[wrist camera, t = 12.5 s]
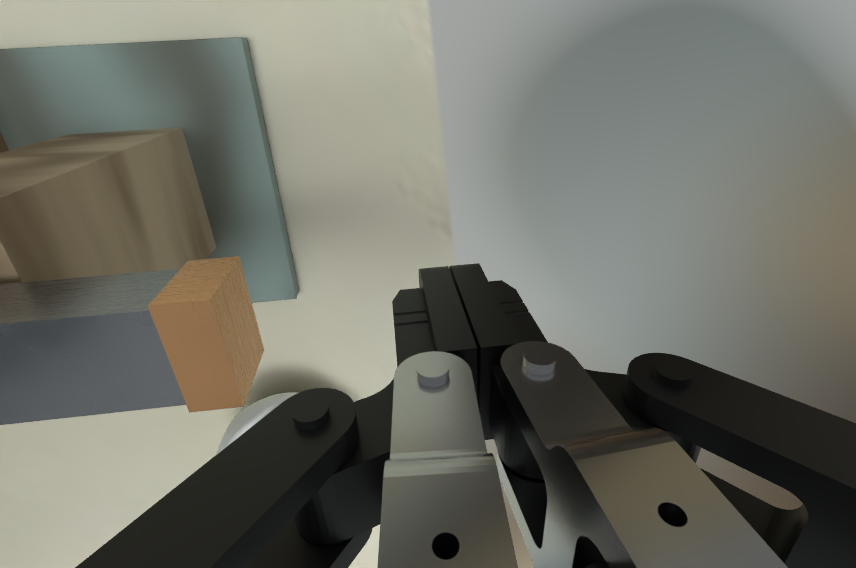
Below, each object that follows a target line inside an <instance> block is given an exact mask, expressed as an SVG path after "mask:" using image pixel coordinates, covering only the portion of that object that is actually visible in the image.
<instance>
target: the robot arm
mask: <svg viewBox="0 0 856 568" xmlns="http://www.w3.org/2000/svg"><path fill="white" fill-rule="evenodd" d="M419 285H420V288H416V289H405V290H400V291H399V292H398V294H397V295H396V297H395V298H394V300H393V301H392V303H393V315H394V328H395V340H396V353H397V369H396V371H395V375H394V379H393V380H392V381H391V383H390V384H389V385H388V386H387V387H385V388H384V389H383V390H381V391H380V392H378V393H376V394H374V395H372V396H369V397H367V398H364V399H361V400H359V401H356V402H353V401H352V399H351V398H350V397H349V396H348V395H347V394H345V393H343V392H341V391H339V390H336V389H330V388H316V389H310V390H306V391H303V392H300V393H298V394H295V395H293V396H291V397H290V398H288V399H286V400H285V401H284V402H282V403H281V404H280V405H278V406H277V407H276V408H275V409H273V410H272V411H271V412H270V413H268V414H267V415H266V416H265V417H263V418H262V419H261V420H260V421H258V422H257V423H256V424H255V425H253V426H252V427H251V428H250V429H248V430H247V431H246V432H245V433H243V434H242V435H241V436H240V437H238V438H237V439H236V440H235V441H233V442H232V443H231V444H230V445H228V446H227V447H226V448H225V449H223V450H222V451H221V452H220V453H218V454H217V455H216V456H215V457H213V458H212V459H211V460H209V461H208V462H207V463H206V464H204V465H203V466H202V467H201V468H199V469H198V470H197V471H196V472H194V473H193V474H192V475H191V476H189V477H188V478H187V479H186V480H184V481H183V482H182V483H181V484H179V485H178V486H177V487H176V488H174V489H173V490H172V491H171V492H169V493H168V494H167V495H166V496H164V497H163V498H162V499H161V500H159V501H158V502H157V503H156V504H154V505H153V506H152V507H151V508H149V509H148V510H147V511H146V512H144V513H143V514H142V515H141V516H139V517H138V518H137V519H136V520H134V521H133V522H132V523H131V524H129V525H128V526H127V527H126V528H124V529H123V530H122V531H121V532H119V533H118V534H117V535H116V536H114V537H113V538H112V539H111V540H109V541H108V542H107V543H106V544H104V545H103V546H102V547H101V548H99V549H98V550H97V551H96V552H94V553H93V554H92V555H91V556H89V557H88V558H87V559H86V560H84V561H83V562H82V563H81V564H79V565H78V566H77V567H76V568H348V567H349V565H350V564H351V563H352V561H353V560H354V559H355V557H356V556H357V555H358V553H359V552H360V551H361V549H362V548H363V547H364V545H365V544H366V542H367V541H368V539H369V537H370V535H371V532H372V528H373V527H375V526H377V525H379V524H380V538H379V554H378V568H518V566H517V560H516V556H515V551H514V546H513V541H512V537H511V532H510V527H509V522H508V518H507V513H506V508H505V503H504V498H503V493H502V489H501V484H500V480H501V482H502V485H503V488H504V490H505V492H506V495H507V497H508V500H509V503H510V505H511V508H512V511H513V513H514V516H515V518H516V521H517V523H518V526H519V528H520V531H521V533H522V536H523V539H524V541H525V543H526V546H527V549H528V551H529V554H530V557H531V559H532V562H533V565H534V568H856V423H853V422H851V421H848V420H846V419H843V418H840V417H838V416H835V415H832V414H830V413H827V412H825V411H822V410H819V409H817V408H814V407H811V406H809V405H806V404H804V403H801V402H799V401H796V400H793V399H791V398H788V397H785V396H783V395H780V394H778V393H775V392H772V391H770V390H767V389H765V388H762V387H759V386H756V385H754V384H751V383H748V382H746V381H744V380H741V379H738V378H736V377H733V376H730V375H728V374H725V373H723V372H720V371H717V370H715V369H712V368H709V367H707V366H704V365H702V364H699V363H697V362H694V361H691V360H689V359H686V358H683V357H680V356H676V355H672V354H666V353H648V354H643V355H640V356H638V357H636V358H634V359H633V360H632V361H631V362H630V364H629V366H628V371H627V375H625V374H616V373H606V372H598V371H591V370H587V369H584V368H583V367H582V366H581V364H580V363H579V362H578V361H577V359H575V357H574V356H573V355H572V354H571V353H570V352H569V351H567V350H565V349H564V348H562V347H560V346H557V345H555V344H551V343H548V342H547V340H546V339H545V337H544V335H543V334H542V332H541V330H540V329H539V327H538V326H537V324H536V322H535V321H534V319H533V317H532V316H531V314H530V313H529V312H528V309H527V307H526V306H525V304H524V303H523V301H522V299H521V297H520V296H519V294H518V293H517V291H516V289H514V288H513V287H511V286H509V285H508V284H506V283H505V282H503V281H502V280H501V281H490V282H488V280H487V278H486V276H485V274H484V272H483V270H482V268H481V266H480V265H479V264H467V265H456V266H450V267H448V266H446V267H435V268H424V269H419ZM489 439H494V440H495V444H496V446H497V465H496V461H495V458H494V456H493V454H492V453H489V454H488V453H487V450H486V444H485V440H489ZM701 448H703V449H706V450H707V451H709V452H711V453H714V454H716V455H718V456H720V457H722V458H724V459H726V460H728V461H730V462H732V463H734V464H736V465H738V466H740V467H742V468H744V469H746V470H748V471H750V472H752V473H754V474H756V475H758V476H760V477H762V478H764V479H766V480H768V481H770V482H772V483H774V484H777V485H779V486H780V487H783V488H784V489H786V490H788V491H790V492H791V493H793V494H794V495H795V496H796V497H797V498H799V500H800V501H801V502H802V503H803V505H802V506H801V507H799V508H797V509H794V510H785V509H780V508H777V507H774V506H772V505H770V504H768V503H766V502H764V501H762V500H760V499H758V498H756V497H755V496H753V495H751V494H749V493H747V492H745V491H743V490H741V489H739V488H737V487H735V486H733V485H732V484H729V483H728V482H726V481H724V480H722V479H720V478H718V477H716V476H714V475H712V474H710V473H709V472H707V471H704V470H703V469H701V468H699V467H698V466H697V465H696V461H697V458H698V455H699V452H700V449H701ZM499 477H500V479H499Z"/></svg>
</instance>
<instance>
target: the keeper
mask: <svg viewBox="0 0 856 568" xmlns="http://www.w3.org/2000/svg"><path fill="white" fill-rule="evenodd" d="M263 352H264V348H263V344H262V340H261V336H260V333H259V329H258V325H257V321H256V318H255V314H254V310H253V306H252V303H251V299H250V295H249V291H248V288H247V284H246V280H245V276H244V273H243V269H242V265H241V261H240V258H239V256H235V257H223V258H211V259H200V260H188V261H187V262H186V263H185V265H184V266H183V267H182V268H181V269H169V270H158V271H147V272H135V273H124V274H112V275H101V276H89V277H78V278H66V279H55V280H43V281H32V282H20V283H9V284H0V425H4V424H13V423H23V422H32V421H41V420H50V419H59V418H68V417H77V416H87V415H96V414H105V413H114V412H123V411H132V410H141V409H151V408H160V407H169V406H178V405H187V408H188V410H189V412H197V411H206V410H215V409H224V408H233V407H242V406H244V404H245V401H246V398H247V395H248V393H249V390H250V387H251V384H252V382H253V379H254V376H255V374H256V371H257V368H258V365H259V363H260V360H261V357H262V354H263Z"/></svg>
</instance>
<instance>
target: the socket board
mask: <svg viewBox="0 0 856 568" xmlns="http://www.w3.org/2000/svg"><path fill="white" fill-rule="evenodd" d="M235 256H239V258H240V261H241V265H242V269H243V273H244V276H245V280H246V284H247V288H248V291H249V295H250V299H251V303H255V302H265V301H276V300H287V299H296V298H297V295H298V292H299V288H298V283H297V278H296V273H295V269H294V264H293V259H292V254H291V249H290V244H289V240H288V235H287V230H286V225H285V220H284V215H283V211H282V206H281V201H280V196H279V191H278V186H277V181H276V177H275V172H274V167H273V162H272V157H271V152H270V148H269V143H268V138H267V133H266V128H265V123H264V119H263V114H262V109H261V104H260V99H259V94H258V89H257V85H256V80H255V75H254V70H253V65H252V60H251V56H250V51H249V46H248V41H247V38H242V37H238V38H218V39H198V40H178V41H157V42H137V43H117V44H97V45H77V46H57V47H37V48H16V49H0V284H9V283H20V282H32V281H43V280H55V279H66V278H78V277H89V276H101V275H112V274H124V273H135V272H147V271H158V270H169V269H181V268H182V267H183V266H184V265H185V263H186V262H187V261H188V260H200V259H211V258H223V257H235Z"/></svg>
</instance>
